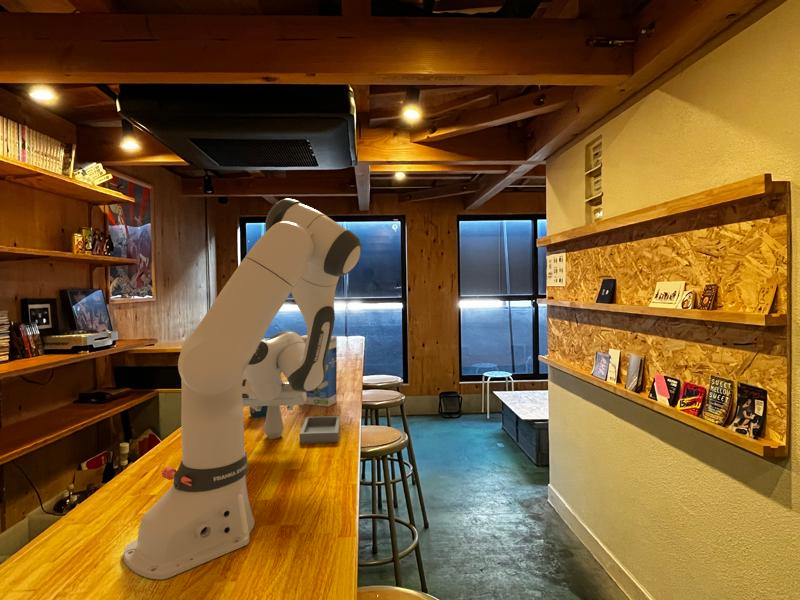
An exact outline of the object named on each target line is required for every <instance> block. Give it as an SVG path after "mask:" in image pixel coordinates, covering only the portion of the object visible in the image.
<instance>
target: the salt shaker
mask: <svg viewBox="0 0 800 600" xmlns="http://www.w3.org/2000/svg"><path fill="white" fill-rule="evenodd" d="M284 427H285V426H284V422H283V416H282V411H281V406H268V409H267V415H266V417H265V422H264V429H263V431H264V433H265V435H266V437H267V439H269V440H272V439H274V440H276V439H279V438H281V436H282V434H283V432H284V429H285V428H284Z"/></svg>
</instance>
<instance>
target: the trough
mask: <svg viewBox="0 0 800 600" xmlns="http://www.w3.org/2000/svg"><path fill="white" fill-rule="evenodd" d="M303 421H304V422H303V424H302V427H301V429H300V432H299V444H301V445H303V444H305V445H306V444H307V445H308V444H312V445H313V444H337V443H339V437H340V431H339V430H340V429H341V415H327V416H324V415H321V416H305V419H304V420H303Z"/></svg>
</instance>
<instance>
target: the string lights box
mask: <svg viewBox="0 0 800 600" xmlns="http://www.w3.org/2000/svg"><path fill="white" fill-rule="evenodd" d="M307 335H308V334H305V335H299V336H300V337H301V338H302V339H303V340H304V342H305V343H306V340H307ZM337 337H338V336H333V335H332V336H331V341H330V345H329V349H328V354H327V358H326V374H325V377H324V380H323V382H322V383H321V385H320V386H319V387H318V388H316V389H315V390H313V391H310V392H306V403H305V404H304V405H310V406H318V407H331V406H332V405H334V404H336V403H337V400H338V399H337V397H338V396H337V394H338V393H337V392H338V391H337V380H338V379H337V377H338V376H337V375H338V374H337V373H338V371H337V370H338V369H337V360H338V359H337V356H338V355H337V350H338V349H337V348H338V347H337V343H338V342H337V341H338V340H337Z"/></svg>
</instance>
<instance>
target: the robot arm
mask: <svg viewBox="0 0 800 600" xmlns="http://www.w3.org/2000/svg"><path fill="white" fill-rule="evenodd" d="M264 226H265V232H264V233H263V234H262V236H261V237H259V238H258V240H257V241H256V242H255V243H254V245H253V246H252V247H251V248H250V249H249V251H248V252H247V254H246V255H245V257H244V258H243V259H242V260H241V262H240V264H239V265H238V266H237V267H236V269H235V271H234V272H233V274H232V275H231V276H230V278H229V279H228V280H227V282H226V283H225V285H224V286H223V287H222V289H221V291H220V292H219V294H218V295H217V297H216V298H215V300H214V301H213V303H212V304H211V306H210V308H209V309H208V311H207V312H206V314H205V315H204V317H203V318H202V319H201V321H200V322H199V324H198V325H197V327H196V329H195V330H193V331H192V332H191V333H189V334H188V336H187V337H186V339H184V341H183V344H182V347H181V350H180V354H179V356H178V360H177V361H178V362H177V369H178V373H179V376H180V379H181V382H180V383H181V412H180V413H181V415H180V416H181V417H180V420H181V421H180V422H181V455H182V460H181V461H180V463H179V466H178V468H177V470H176V469H175V468H172V466H166V467H164V468H163V470H162V471H161V474H160V475H161V477H162V478H164V479H166V480H168V481H171V480H173V483H172V485H171V486H170V488H169V489H168V490H167V491H165V493H164V494H163V495H162V496H161V497H160V498H159V499H158V500H157V501H156V502H155V503H154V504H153V505H152V506H151V507H150V508H149V509H148V510H147V511H146V513H145V514H144V515H143V516H142V518H141V520H140V524H139V528H138V532H137V533H138V534H137V538H136V539H135V540H133V541H132V542H130V543H128V544H127V545H126V546H125V547H124V550H123V562H124V563H125V565H126V566H127V567H128V568H129V569H130V570H131V571H133V572H134V573H135V574H137V575H139V576H142V577H144V578H147V579H152V580H166V579H168V578H172V577H174V576H176V575H179V574H181V573H183V572H186V571H188V570H190V569H193V568H195V567H198V566H200V565H202V564H205V563H207V562H209V561H212V560H214V559H216V558H219V557H221V556H223V555H226V554H229V553H231V552H233V551H235V550H238V549H240V548H243V547H244V546H247V545H249V543H250V540H251V538H250V534H251V532H252V530H253V529H254V527H255V523H256V520H255V517H254V515H253V511H252V508H251V504H250V500H249V494H248V487H247V475H248V474H247V473H248V459H247V458H248V456H247V455H248V454H247V452H246V451H245V426H244V425H245V420H244V418H245V417H244V412H245V411H244V407H249V408H250V407H252V408H254V409H255V411H261V408H262V406H280V407H281V406H286V409H287V411H293V410H294V407H295V406H304V405H306V404H305V403H306V392H310V391H313V390H315V389H316V388H318V387H319V386H320V385H321V383H322V382H323V380H324V377H325V374H326V358H327V354H328V349H329V345H330V341H331V336H332V337H333V331H334V326H335V319H336V313H335V295H336V289H337V285H338V281H339V279H340V277H343V276H346V275H347V274H349V273H351V271H352V270H353V269H354V267H356V265H357V263H358V261H359V259H360V257H361V252H362V243H361V240H360V238H359V237H358V236H357V235H356V234H355V233H354V232H353V231H351V230H350V229H346V228H345V227H343V226H342V225H341V224H339V223H338V222H337V221H335V220H333V219H332V218H331V217H329V216H327V215H326V214H324V213H322V212H321V211H319V210H317V209H314V208H313V207H310V206H309V205H305V204H304V203H303V202H302V201H299V200H296V199H294V198H293V199H292V198H288V197H287V198H284V199H281V200H279V201H277V202H276V203H274V204H273V205H272V206H271V208H270V210H269V211H268V213H267V216H266V219H265V225H264ZM290 294H291V296H292V297H293V300H294V302H295V304H296V306H297V307H298V310H299V311H300V313H301V315H302V317H303V319H304V322H305V325H306V330H307V334H306V335H307V340H306V343H305V342H304V340H303V339H302V338H301V337H300V336H301V335H299V334H298V332H296V331H293V330H286V331H285V330H284V331H281V332H278V333H276V334H273V335H272V336H270V337H269V338H268V339H266V340H263V339H264V337H265V335H266V332H267V331H268V329H269V328H270V325H271V323H272V322H273V321H274V319H275V317H276V316H277V314H278V313H279V311H280V309H281V308H282V306H283V305H284V304H285V302H286V301H287V299H288V297H289V296H290ZM281 373H282V374H283V376H284V377H285V378H286V379H287V382H284V381H283V379H282V376H281Z"/></svg>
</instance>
